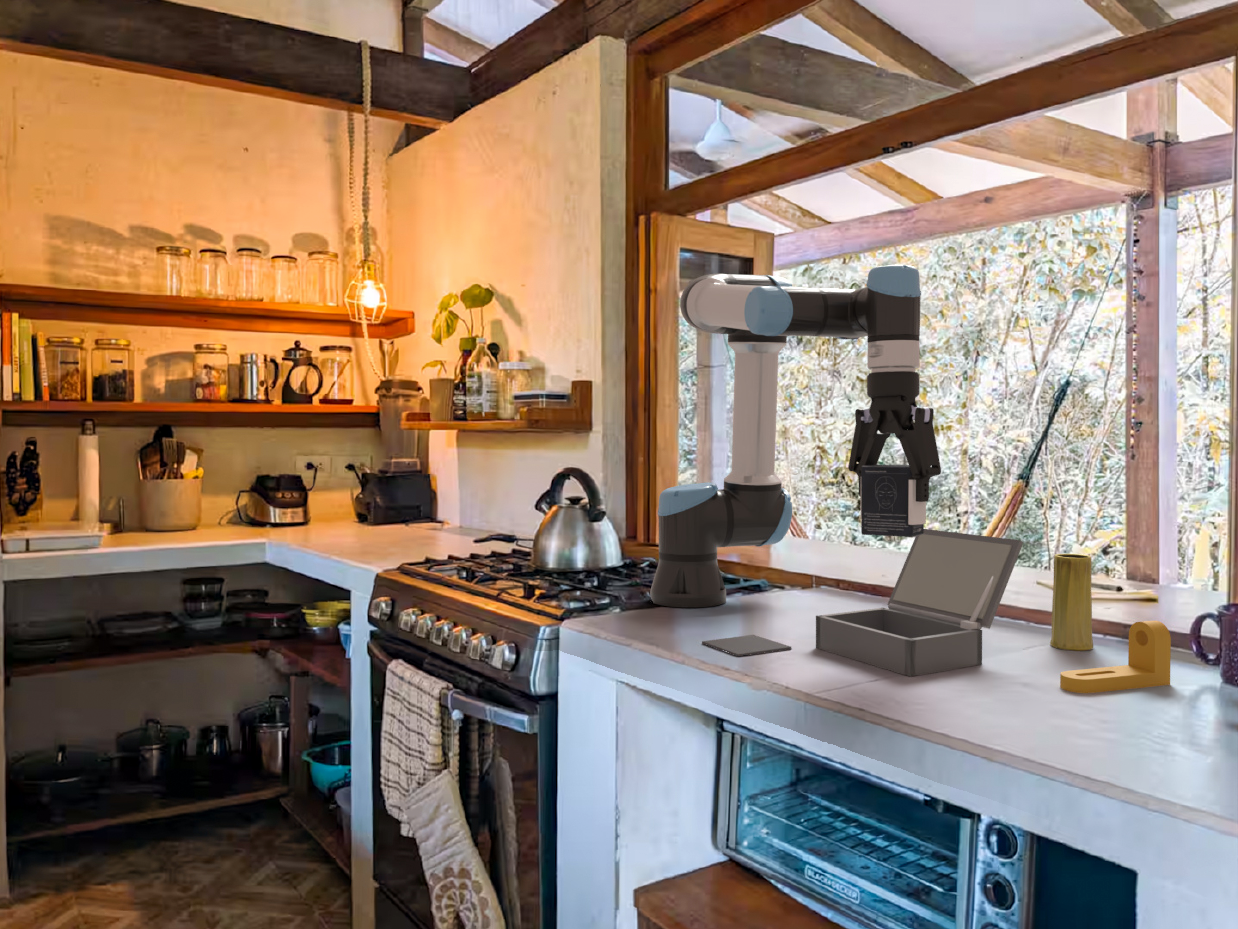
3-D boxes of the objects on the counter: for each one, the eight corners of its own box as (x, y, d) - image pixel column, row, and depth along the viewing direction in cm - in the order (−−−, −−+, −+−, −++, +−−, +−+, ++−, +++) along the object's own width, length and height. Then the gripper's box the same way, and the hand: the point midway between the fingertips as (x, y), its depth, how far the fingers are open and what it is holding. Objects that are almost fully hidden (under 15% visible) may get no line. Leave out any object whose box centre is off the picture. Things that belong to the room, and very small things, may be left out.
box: (924, 534, 142) (924, 464, 142) (912, 538, 137) (912, 465, 137) (873, 531, 147) (873, 463, 146) (860, 535, 142) (860, 464, 141)
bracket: (1143, 677, 130) (1144, 617, 129) (1170, 686, 125) (1171, 624, 125) (1052, 687, 125) (1053, 624, 125) (1077, 695, 121) (1078, 631, 121)
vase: (1090, 643, 149) (1091, 554, 149) (1096, 652, 144) (1097, 559, 143) (1048, 641, 151) (1049, 552, 151) (1052, 649, 146) (1053, 557, 145)
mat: (702, 643, 151) (702, 641, 151) (753, 637, 156) (753, 634, 156) (738, 656, 142) (738, 654, 142) (791, 649, 147) (791, 646, 147)
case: (815, 647, 148) (815, 535, 147) (921, 632, 158) (922, 528, 158) (910, 676, 130) (910, 549, 130) (1022, 657, 141) (1023, 540, 140)
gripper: (824, 374, 149) (824, 516, 150) (931, 366, 130) (929, 529, 130) (860, 375, 152) (860, 514, 153) (969, 367, 133) (968, 526, 134)
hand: (892, 521), depth 142 cm, fingers closed on box, 9 cm apart
